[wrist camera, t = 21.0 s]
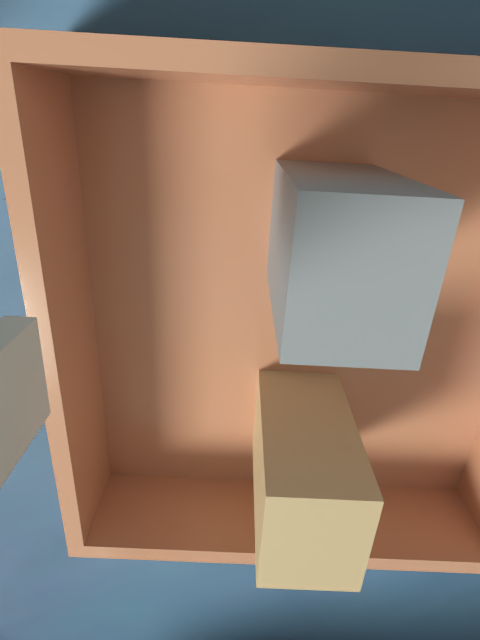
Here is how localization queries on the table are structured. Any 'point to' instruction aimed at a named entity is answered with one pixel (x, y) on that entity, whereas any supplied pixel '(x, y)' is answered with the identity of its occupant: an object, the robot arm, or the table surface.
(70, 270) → the orange square tray
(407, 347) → the pale grey box block
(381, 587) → the table surface
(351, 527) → the tall cardboard carton
